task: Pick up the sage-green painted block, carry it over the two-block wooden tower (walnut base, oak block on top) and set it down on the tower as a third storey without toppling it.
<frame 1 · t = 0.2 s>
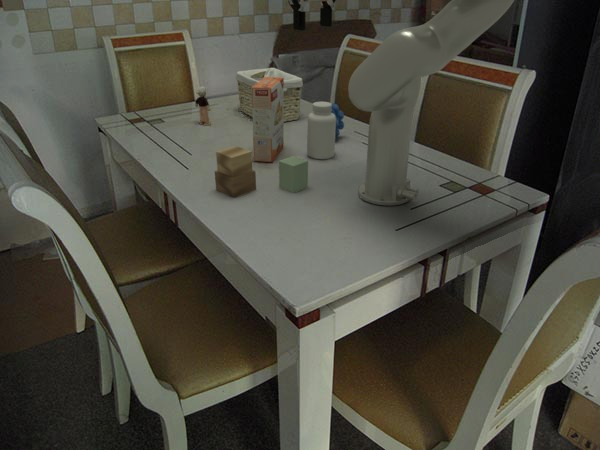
hand: (312, 27, 120), 36 cm above the table, tool pointing down, fingers open, 9 cm apart
sage block: (293, 187, 127), on the table
grapes: (330, 141, 159), on the table
tower mid: (235, 171, 123), point 5 cm above the table, touching tower base
pill bottle: (320, 155, 147), on the table
tower base: (236, 190, 125), on the table, touching tower mid
cracker box: (269, 155, 148), on the table
grandmother figurine: (204, 124, 175), on the table
storage basket: (269, 116, 185), on the table
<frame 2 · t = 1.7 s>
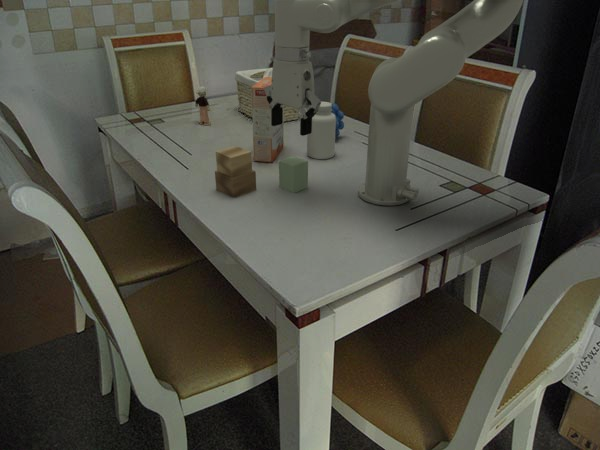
hand: (291, 129, 120), 15 cm above the table, tool pointing down, fingers open, 9 cm apart
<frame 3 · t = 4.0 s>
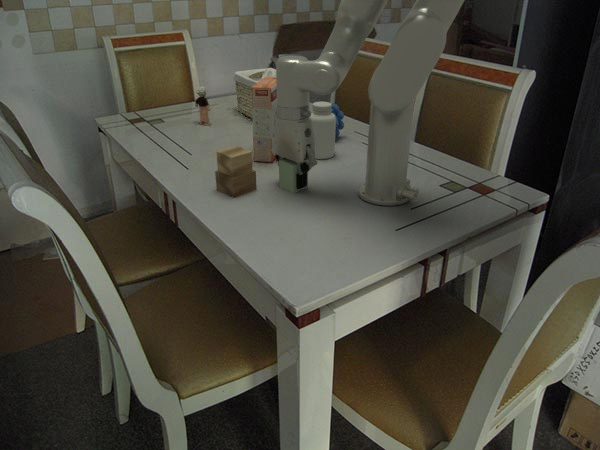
hand: (293, 183, 126), 1 cm above the table, tool pointing down, fingers closed on sage block, 5 cm apart
sage block: (293, 187, 127), on the table, touching gripper
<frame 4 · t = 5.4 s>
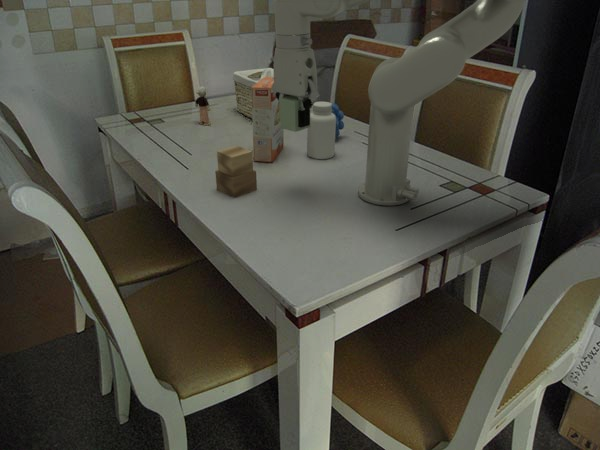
hand: (295, 123, 119), 16 cm above the table, tool pointing down, fingers closed on sage block, 5 cm apart
sage block: (295, 127, 119), point 15 cm above the table, touching gripper
tower mid: (235, 170, 123), point 5 cm above the table
tower base: (236, 189, 125), on the table
everything else where it was.
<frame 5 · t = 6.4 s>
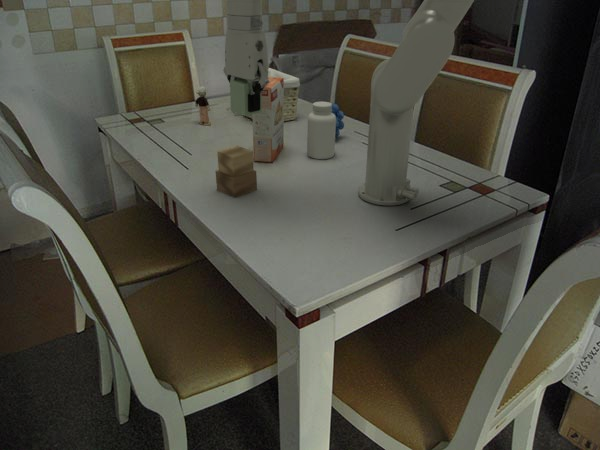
hand: (246, 107, 116), 20 cm above the table, tool pointing down, fingers closed on sage block, 5 cm apart
sage block: (246, 111, 117), point 19 cm above the table, touching gripper
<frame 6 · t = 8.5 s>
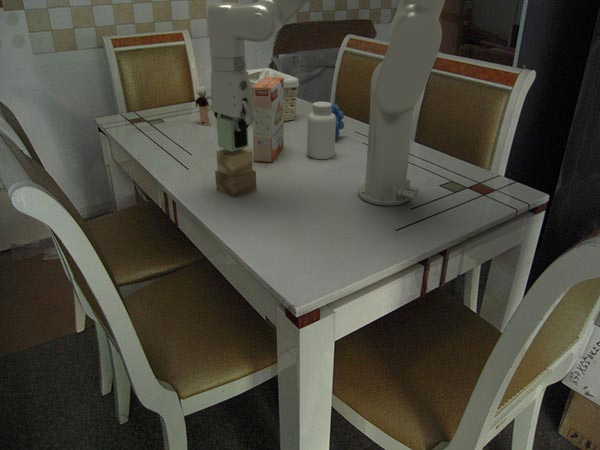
hand: (233, 142, 120), 12 cm above the table, tool pointing down, fingers closed on sage block, 5 cm apart
sage block: (233, 146, 120), point 11 cm above the table, touching gripper
tower mid: (235, 171, 123), point 5 cm above the table, touching tower base
tower base: (236, 190, 126), on the table, touching tower mid
when the fingers open (12 cm above the table, at t = 9.3 s): sage block drops 1 cm, resting on tower mid.
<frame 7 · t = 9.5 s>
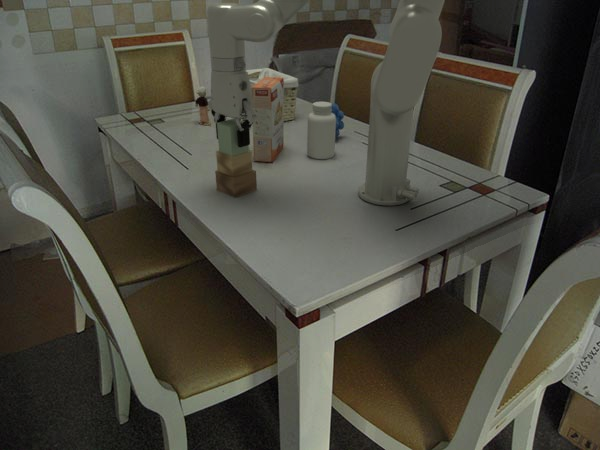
hand: (233, 141, 120), 12 cm above the table, tool pointing down, fingers open, 7 cm apart
sage block: (233, 151, 121), point 10 cm above the table, touching tower mid
tower mid: (235, 170, 123), point 5 cm above the table, touching sage block, tower base
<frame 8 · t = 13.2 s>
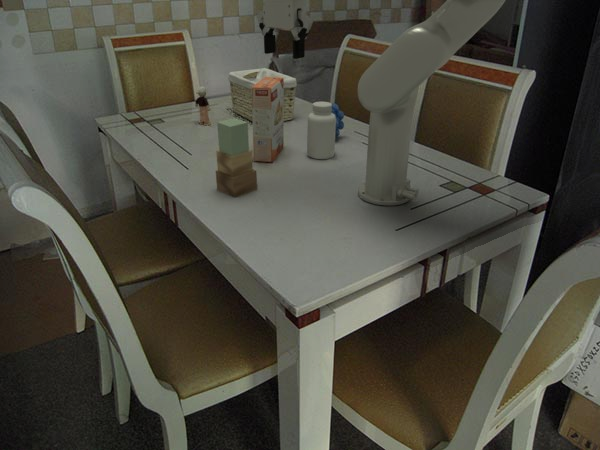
hand: (284, 55, 119), 30 cm above the table, tool pointing down, fingers open, 9 cm apart
at the end: sage block 0.1 cm off-centre on the tower base, point 10.0 cm above the tower base's base; sage block tilted 0°; tower mid moved 0.6 cm from its start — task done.
